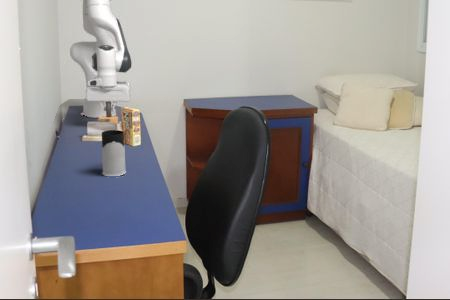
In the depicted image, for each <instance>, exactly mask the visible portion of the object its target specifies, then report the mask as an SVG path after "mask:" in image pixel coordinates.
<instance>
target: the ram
mask: <svg viewBox="0 0 450 300" xmlns="http://www.w3.org/2000/svg"><path fill="white" fill-rule="evenodd" d="M99 119H110V121H111V122H116V129H117V124H118V123H119V116H117V115H116V116H112V114H111V102H106V116H101V117H99V118H98V119H97V121H98V120H99Z"/></svg>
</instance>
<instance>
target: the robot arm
mask: <svg viewBox="0 0 450 300" xmlns="http://www.w3.org/2000/svg"><path fill="white" fill-rule="evenodd" d="M111 7H112V6H111V0H82V22H83V23H82V25H83V27H82V28H83V29H84V31H85V32H86V33H87V34H89V35H91V36H93V37H94V38H95V40H96V41H78V42H74V43H73V44H72V45H71V46H70V48H69V54H70V57H71V60H73V61H74V63H77V64H78V65H79V67H80V68H81V69H82V71H83V72H84V78H85V85H86V89H85V98H84V99H83V111H82V112H81V113H80V116H83V115H85V116H84V117H86V116H87V117H88V118H93V119H94V118H98V119H99V118H100V117H101V116H106V102H111V114H112V116H117V110H116V108H115V107H116V105H117V103H119V102H120V103H121V102H124V103H128V102H129V101H130V100H131V93H130V91H131V84H130V83H129V82H127V81H118V73H124V74H125V73H127V72H128V71H129V70H131V68H132V65H133V63H132V62H133V61H132V57H131V55H130V52H129V49H128V46H127V42H126V38H125V35H124V32H123V28H122V25H121V22H120V20H119V19H118V18H117V17H115V16H114V14H113V12H112V8H111ZM108 32H109V33H111V34H112V35H113V37H114V40H115V41H114V40H113V39H112V38H111V37H110V35H109V33H108ZM112 105H113V106H112Z"/></svg>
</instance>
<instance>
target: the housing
mask: <svg viewBox="0 0 450 300" xmlns="http://www.w3.org/2000/svg"><path fill="white" fill-rule="evenodd" d="M98 119H99V118H98ZM98 119H97V121H96V122H111V121H110V119H99V120H98Z"/></svg>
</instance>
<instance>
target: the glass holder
mask: <svg viewBox="0 0 450 300" xmlns="http://www.w3.org/2000/svg"><path fill="white" fill-rule="evenodd" d="M125 144H126V143H124V132H123V131H119V130H108V131H104V132H102V141H101V159H102V160H101V162H102V172H101V175H102V174H103V175H105V176H120V175H123V174H125V173H126V172H127V171H126V170H127V169H126V151H125V150H126V149H125V148H126V147H125Z"/></svg>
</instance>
